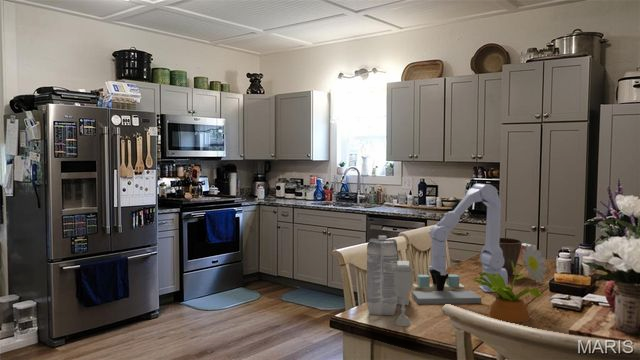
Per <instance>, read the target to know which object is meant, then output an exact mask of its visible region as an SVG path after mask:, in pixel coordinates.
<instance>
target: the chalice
mask: <svg viewBox="0 0 640 360" xmlns="http://www.w3.org/2000/svg"><path fill="white" fill-rule="evenodd" d="M393 271H394V284H395V288H396V290H397V293H398V295H399V297H401V298H402V302H401V308H400V310H401V314H400V315H398V316H397V318H396V321H395V325H397V326H399V327H409V326H411V321H410V318H409V317H408V316H407V315H406V314H405V311H406V310H407V309H406V308H405V306H406V305H405V304H406V303H405V297H407V296H408V294H409V295H410V291H412V284H413V273H414V271H415V270H414V268H411V267H410V268H408V267H396V268H393Z"/></svg>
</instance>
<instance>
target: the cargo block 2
mask: <svg viewBox="0 0 640 360" xmlns="http://www.w3.org/2000/svg"><path fill="white" fill-rule="evenodd" d="M447 274H448V273H447ZM445 284H447V285H448V286H449V287H459V284H460V276H459V275H458V274H457V273H456V274H455V273H453V274H451V273H450V274H448V278H447V279H446V282H445Z"/></svg>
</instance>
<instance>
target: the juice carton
mask: <svg viewBox="0 0 640 360" xmlns="http://www.w3.org/2000/svg"><path fill="white" fill-rule="evenodd" d="M397 261H398V244H397V240H396V239H394V238H393V239H392V238H391V239H387V235H378V238H370V239H369V241H368V243H367V247H366V306H367V310H368V313H369V315H374V316H392V317H393V316H395V314H396V309H397V305H398V304H397V290H396V288H395V284H394V271H393V268H396V267H397Z"/></svg>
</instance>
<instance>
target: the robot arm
mask: <svg viewBox="0 0 640 360" xmlns="http://www.w3.org/2000/svg"><path fill="white" fill-rule="evenodd" d="M498 191H499V190H498V189H497V188H496V187H495V186H493V185H492V184H488V183H487V184H486V183H479V182H478V183H475V184H473V185H472V187H470V188H469V189H468V190H467V192H466V194H465V195H464V197H463V198H462V199H461V200H460V202H459V203H458V204H457V206H456V207H455V208H454V209H453V210H451V211H448V212H445V213H444V214H443V217H442V218H441V219H440V220H439V221H437V222H436V225H433V226H432V227H431V228H430V231H429V232H428V233H429V237H430V238H431V247H430V249H431V251H430V252H431V257H430V258H431V262H430V263H431V265H428V267H427V268H428V271H429V274H430V276H431V279H432V280H431V281H432V284H437V290H438V291H443V289H444V285H445V284H446V282H447V278H448V273H447V239H449V237H450V232H452V231H453V229H454V228H455V227H456V226H457V225H458V223H459V222H461V221H460V220H461V219H460V218H461V216H462V215H463V214H464V213H465V212H466V211H467V209H469V208H470V207H471V206H472V204H474V203H479V202H482V203H483V204H484V205H485V206H486V224H485V225H486V226H485V244H484V245H483V246H482V249H481V252H480V255H479V261H480V263H481V264H482V273H483V272H486V273H490V274H492V275H493V274H497V273H498V274H499V275H500V276H501V277H502V278H503V279H504V281H505V284H506V287H509V286H508V285H509V284H508V282H509V281H508V279H509V278H508V277H509V276H508V274H507V271H506V269H505V268H502V267H503V265H504V258H503V251H502V249H501V248H500V246H499V241H500V238H501V236H500V235H501V219H502V218H501V215H502V201H501V198H500V196H499V194H498ZM483 277H484V278H485V279H486V280H487V281H489V279H488V277H487V276H486V275H484V276H483ZM494 277H496V276H494ZM496 279H497V278H496ZM482 281H483V282H484V280H482ZM485 282H486V281H485ZM489 282H490V281H489ZM486 283H487V282H486ZM490 283H491V282H490ZM489 285H490V284H489ZM478 288H480V289H481V290H482V291H483V292H486V293H491V288H489V287H488V286H487V285H482V284H481V285H478Z"/></svg>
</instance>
